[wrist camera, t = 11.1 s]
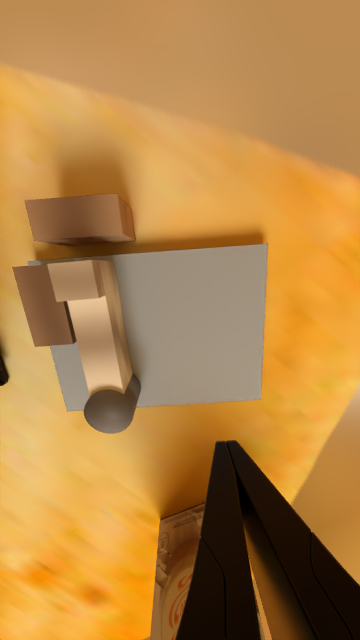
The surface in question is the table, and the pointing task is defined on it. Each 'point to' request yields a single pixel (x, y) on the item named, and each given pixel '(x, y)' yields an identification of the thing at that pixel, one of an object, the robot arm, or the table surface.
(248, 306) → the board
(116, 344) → the leg
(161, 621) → the coffee box
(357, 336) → the table surface
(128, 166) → the table surface
